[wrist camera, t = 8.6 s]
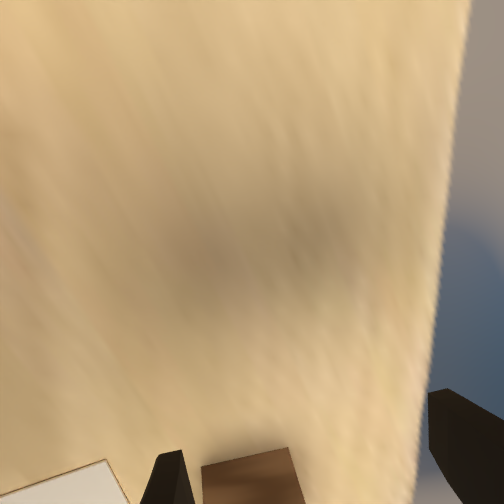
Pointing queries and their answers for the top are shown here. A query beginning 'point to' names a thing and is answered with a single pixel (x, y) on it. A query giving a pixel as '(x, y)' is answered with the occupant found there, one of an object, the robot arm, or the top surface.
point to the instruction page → (73, 488)
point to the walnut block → (253, 480)
